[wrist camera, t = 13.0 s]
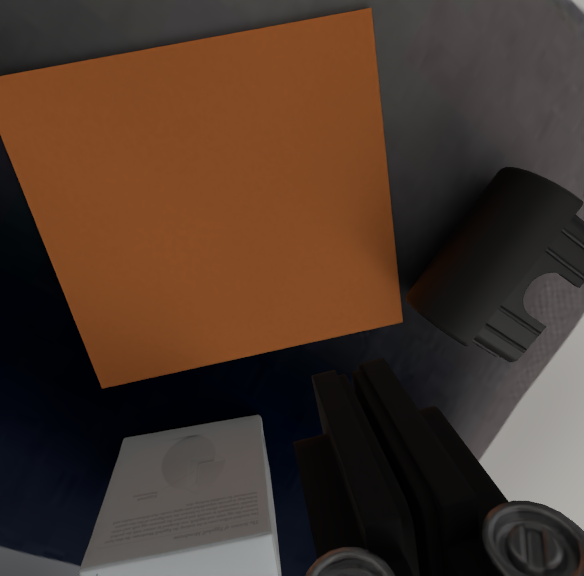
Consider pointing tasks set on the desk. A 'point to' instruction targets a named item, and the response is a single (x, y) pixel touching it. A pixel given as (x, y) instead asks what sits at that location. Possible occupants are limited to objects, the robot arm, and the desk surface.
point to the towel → (212, 193)
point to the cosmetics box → (188, 505)
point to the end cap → (502, 262)
